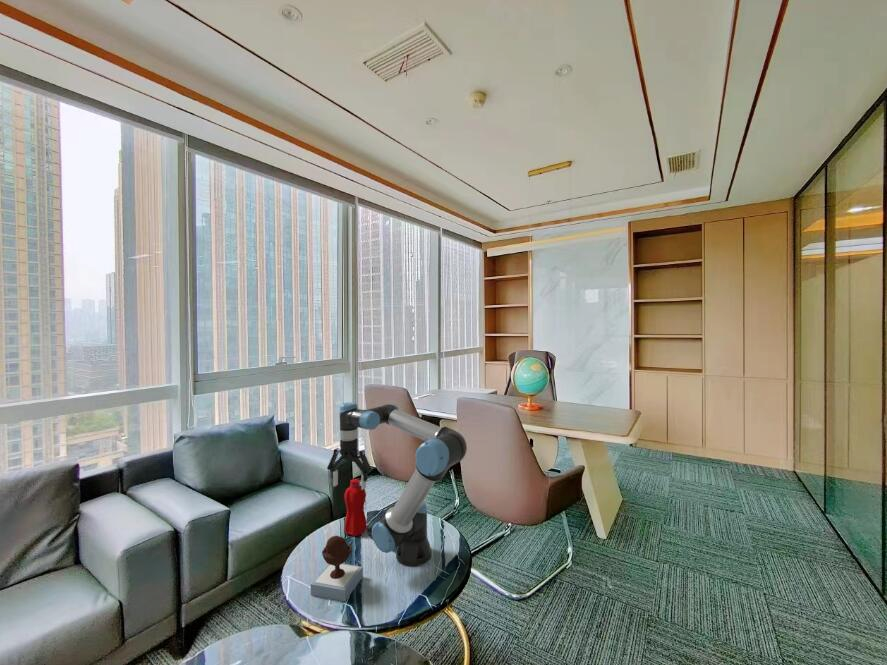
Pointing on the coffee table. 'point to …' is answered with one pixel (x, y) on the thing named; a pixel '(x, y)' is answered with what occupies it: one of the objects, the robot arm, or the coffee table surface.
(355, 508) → the water bottle
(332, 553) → the ice cream bowl
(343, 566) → the base plinth
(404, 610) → the coffee table surface
